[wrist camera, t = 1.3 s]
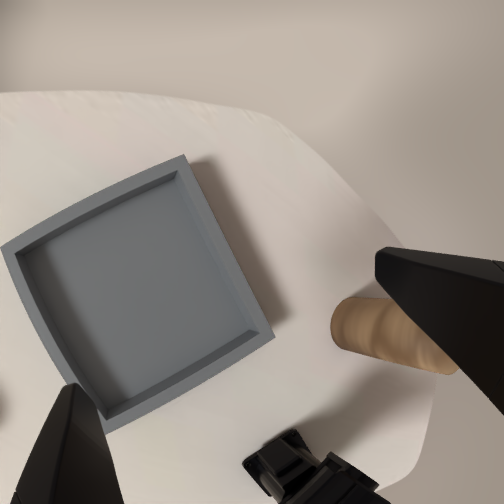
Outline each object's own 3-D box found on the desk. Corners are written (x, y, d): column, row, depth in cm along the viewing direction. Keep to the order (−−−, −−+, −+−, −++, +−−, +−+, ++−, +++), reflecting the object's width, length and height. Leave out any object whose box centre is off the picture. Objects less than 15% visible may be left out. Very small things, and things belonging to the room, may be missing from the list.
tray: (260, 331, 27) (275, 337, 24) (105, 419, 22) (103, 435, 19) (178, 166, 26) (183, 154, 23) (13, 250, 20) (0, 247, 17)
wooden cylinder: (377, 330, 32) (476, 343, 20) (342, 360, 30) (442, 389, 18) (360, 287, 32) (464, 287, 20) (322, 315, 30) (429, 330, 18)
